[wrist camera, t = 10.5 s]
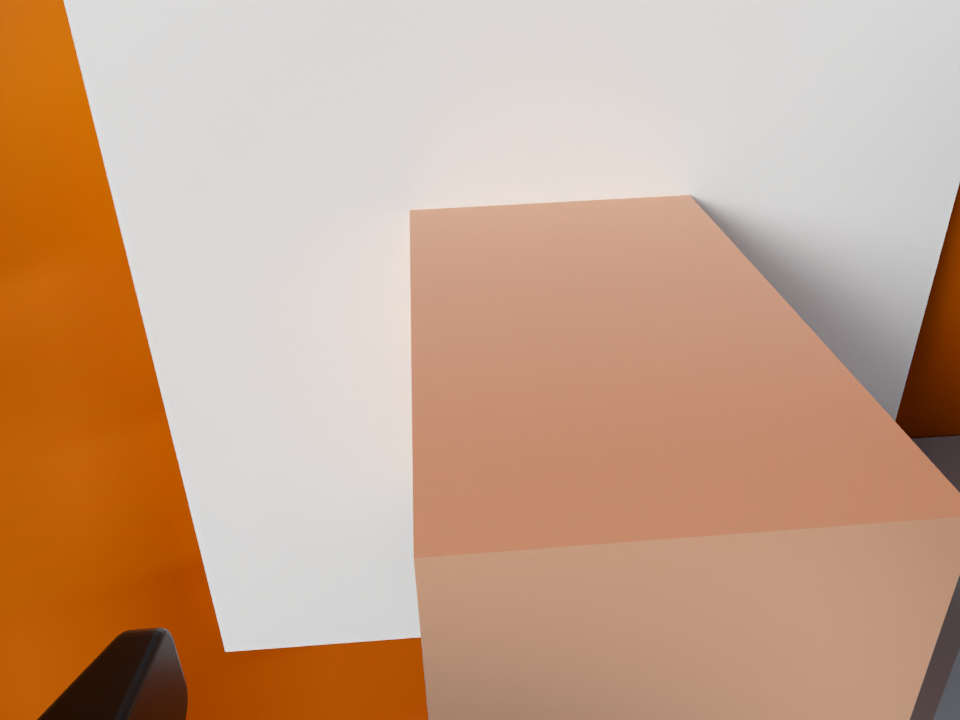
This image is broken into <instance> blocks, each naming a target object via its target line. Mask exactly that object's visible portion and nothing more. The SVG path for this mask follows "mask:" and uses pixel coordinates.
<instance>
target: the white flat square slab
mask: <svg viewBox="0 0 960 720" xmlns="http://www.w3.org/2000/svg"><path fill="white" fill-rule="evenodd" d="M64 4H65V8H66V12H67V16H68V20H69V24H70V28H71V32H72V36H73V40H74V44H75V48H76V52H77V56H78V60H79V64H80V68H81V72H82V77H83V81H84V85H85V89H86V93H87V97H88V101H89V105H90V109H91V113H92V117H93V121H94V125H95V129H96V133H97V137H98V141H99V145H100V149H101V153H102V157H103V161H104V165H105V169H106V173H107V177H108V181H109V185H110V189H111V193H112V197H113V201H114V205H115V209H116V213H117V218H118V222H119V226H120V230H121V234H122V238H123V242H124V246H125V250H126V254H127V258H128V262H129V266H130V270H131V274H132V278H133V282H134V286H135V290H136V294H137V298H138V302H139V306H140V310H141V314H142V318H143V322H144V326H145V330H146V334H147V338H148V342H149V346H150V350H151V354H152V358H153V363H154V367H155V371H156V375H157V379H158V383H159V387H160V391H161V395H162V399H163V403H164V407H165V411H166V415H167V419H168V423H169V427H170V431H171V435H172V439H173V443H174V447H175V451H176V455H177V459H178V463H179V467H180V471H181V475H182V479H183V483H184V487H185V491H186V495H187V499H188V504H189V508H190V512H191V516H192V520H193V524H194V528H195V532H196V536H197V540H198V544H199V548H200V552H201V556H202V560H203V564H204V568H205V572H206V576H207V580H208V584H209V588H210V592H211V596H212V600H213V604H214V608H215V612H216V616H217V620H218V624H219V628H220V632H221V636H222V640H223V644H224V649H225V652H232V651H245V650H258V649H272V648H285V647H298V646H311V645H325V644H338V643H351V642H365V641H378V640H391V639H404V638H418V637H421V632H420V622H419V611H418V600H417V589H416V578H415V567H414V541H413V455H412V370H411V285H410V210H423V209H441V208H460V207H478V206H497V205H515V204H533V203H552V202H570V201H589V200H607V199H626V198H644V197H662V196H681V195H690V196H691V197H692V198H693V199H694V200H695V201H696V203H697V204H698V205H699V206H700V207H701V208H702V209H703V210H704V211H705V212H706V214H707V215H708V216H709V217H710V218H711V219H712V220H713V221H714V222H715V224H716V225H717V226H718V227H719V228H720V229H721V230H722V231H723V232H724V233H725V235H726V236H727V237H728V238H729V239H730V240H731V241H732V242H733V243H734V244H735V246H736V247H737V248H738V249H739V250H740V251H741V252H742V253H743V254H744V255H745V257H746V258H747V259H748V260H749V261H750V262H751V263H752V264H753V265H754V267H755V268H756V269H757V270H758V271H759V272H760V273H761V274H762V275H763V276H764V278H765V279H766V280H767V281H768V282H769V283H770V284H771V285H772V286H773V287H774V289H775V290H776V291H777V292H778V293H779V294H780V295H781V296H782V297H783V298H784V300H785V301H786V302H787V303H788V304H789V305H790V306H791V307H792V308H793V310H794V311H795V312H796V313H797V314H798V315H799V316H800V317H801V318H802V319H803V321H804V322H805V323H806V324H807V325H808V326H809V327H810V328H811V329H812V330H813V332H814V333H815V334H816V335H817V336H818V337H819V338H820V339H821V340H822V342H823V343H824V344H825V345H826V346H827V347H828V348H829V349H830V350H831V351H832V353H833V354H834V355H835V356H836V357H837V358H838V359H839V360H840V361H841V362H842V364H843V365H844V366H845V367H846V368H847V369H848V370H849V371H850V372H851V373H852V375H853V376H854V377H855V378H856V379H857V380H858V381H859V382H860V383H861V385H862V386H863V387H864V388H865V389H866V390H867V391H868V392H869V393H870V394H871V396H872V397H873V398H874V399H875V400H876V401H877V402H878V403H879V404H880V405H881V407H882V408H883V409H884V410H885V411H886V412H887V413H888V414H889V415H890V416H891V418H892V419H893V420H894V421H895V420H896V417H897V413H898V409H899V405H900V402H901V398H902V394H903V391H904V387H905V383H906V380H907V376H908V372H909V368H910V365H911V361H912V357H913V354H914V350H915V346H916V342H917V339H918V335H919V331H920V328H921V324H922V320H923V316H924V313H925V309H926V305H927V302H928V298H929V294H930V291H931V287H932V283H933V279H934V276H935V272H936V268H937V265H938V261H939V257H940V253H941V250H942V246H943V242H944V239H945V235H946V231H947V228H948V224H949V220H950V216H951V213H952V209H953V205H954V202H955V198H956V194H957V190H958V187H959V183H960V0H64Z"/></svg>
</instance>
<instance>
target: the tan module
mask: <svg viewBox="0 0 960 720" xmlns="http://www.w3.org/2000/svg"><path fill="white" fill-rule="evenodd" d="M410 285H411V370H412V455H413V541H414V567H415V578H416V589H417V600H418V611H419V622H420V632H421V643H422V654H423V665H424V676H425V687H426V698H427V709H428V720H910V717H911V715H912V712H913V709H914V706H915V703H916V700H917V697H918V694H919V691H920V688H921V686H922V683H923V680H924V677H925V674H926V671H927V668H928V665H929V662H930V659H931V656H932V654H933V651H934V648H935V645H936V642H937V639H938V636H939V633H940V630H941V627H942V625H943V622H944V619H945V616H946V613H947V610H948V607H949V604H950V601H951V598H952V596H953V593H954V590H955V587H956V584H957V581H958V578H959V575H960V493H959V491H958V490H957V489H956V488H955V487H954V486H953V485H952V484H951V483H950V482H949V480H948V479H947V478H946V477H945V476H944V475H943V474H942V473H941V472H940V471H939V469H938V468H937V467H936V466H935V465H934V464H933V463H932V462H931V461H930V459H929V458H928V457H927V456H926V455H925V454H924V453H923V452H922V451H921V450H920V448H919V447H918V446H917V445H916V444H915V443H914V442H913V441H912V440H911V439H910V437H909V436H908V435H907V434H906V433H905V432H904V431H903V430H902V429H901V428H900V426H899V425H898V424H897V423H896V422H895V421H894V420H893V419H892V418H891V416H890V415H889V414H888V413H887V412H886V411H885V410H884V409H883V408H882V407H881V405H880V404H879V403H878V402H877V401H876V400H875V399H874V398H873V397H872V396H871V394H870V393H869V392H868V391H867V390H866V389H865V388H864V387H863V386H862V385H861V383H860V382H859V381H858V380H857V379H856V378H855V377H854V376H853V375H852V373H851V372H850V371H849V370H848V369H847V368H846V367H845V366H844V365H843V364H842V362H841V361H840V360H839V359H838V358H837V357H836V356H835V355H834V354H833V353H832V351H831V350H830V349H829V348H828V347H827V346H826V345H825V344H824V343H823V342H822V340H821V339H820V338H819V337H818V336H817V335H816V334H815V333H814V332H813V330H812V329H811V328H810V327H809V326H808V325H807V324H806V323H805V322H804V321H803V319H802V318H801V317H800V316H799V315H798V314H797V313H796V312H795V311H794V310H793V308H792V307H791V306H790V305H789V304H788V303H787V302H786V301H785V300H784V298H783V297H782V296H781V295H780V294H779V293H778V292H777V291H776V290H775V289H774V287H773V286H772V285H771V284H770V283H769V282H768V281H767V280H766V279H765V278H764V276H763V275H762V274H761V273H760V272H759V271H758V270H757V269H756V268H755V267H754V265H753V264H752V263H751V262H750V261H749V260H748V259H747V258H746V257H745V255H744V254H743V253H742V252H741V251H740V250H739V249H738V248H737V247H736V246H735V244H734V243H733V242H732V241H731V240H730V239H729V238H728V237H727V236H726V235H725V233H724V232H723V231H722V230H721V229H720V228H719V227H718V226H717V225H716V224H715V222H714V221H713V220H712V219H711V218H710V217H709V216H708V215H707V214H706V212H705V211H704V210H703V209H702V208H701V207H700V206H699V205H698V204H697V203H696V201H695V200H694V199H693V198H692V197H691V196H690V195H681V196H662V197H644V198H626V199H607V200H589V201H570V202H552V203H533V204H515V205H497V206H478V207H460V208H441V209H423V210H410Z"/></svg>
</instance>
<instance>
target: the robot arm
mask: <svg viewBox="0 0 960 720" xmlns="http://www.w3.org/2000/svg"><path fill="white" fill-rule="evenodd" d="M187 703H188V695H187V686H186V682H185V678H184V675H183V671H182V668H181V664H180V661H179V657H178V654H177V651H176V647H175V644H174V640H173V638H172V635H171V633H170V632H169V631H168V630H167V629H164V628H150V629H136V630H128V631H125V632H123V633H121V634H120V635H118V636H117V637H116V638H115V639H114V640H113V641H112V642H111V643H110V644H109V645H108V646H107V647H106V648H105V649H104V650H103V651H102V653H101V654H100V655H99V656H98V657H97V658H96V659H95V660H94V661H93V662H92V663H91V664H90V665H89V666H88V667H87V668H86V669H85V670H84V671H83V672H82V673H81V674H80V675H79V676H78V678H77V679H76V680H75V681H74V682H73V683H72V684H71V685H70V686H69V687H68V688H67V689H66V690H65V691H64V692H63V693H62V694H61V695H60V696H59V697H58V698H57V699H56V700H55V701H54V703H53V704H52V705H51V706H50V707H49V708H48V709H47V710H46V711H45V712H44V713H43V714H42V715H41V716H40V717H39V718H38V719H37V720H186V714H187Z"/></svg>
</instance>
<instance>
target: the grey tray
mask: <svg viewBox="0 0 960 720" xmlns="http://www.w3.org/2000/svg"><path fill="white" fill-rule="evenodd" d="M911 440H912V441H913V442H914V443H915V444H916V445H917V446H918V447H919V448H920V450H921V451H922V452H923V453H924V454H925V455H926V456H927V457H928V458H929V459H930V461H931V462H932V463H933V464H934V465H935V466H936V467H937V468H938V469H939V471H940V472H941V473H942V474H943V475H944V476H945V477H946V478H947V479H948V480H949V482H950V483H951V484H952V485H953V486H954V487H955V488H956V489H957V490H958V491H959V493H960V436H945V437H929V438H913V439H911ZM910 720H960V575H959V578H958V581H957V584H956V587H955V590H954V593H953V596H952V598H951V601H950V604H949V607H948V610H947V613H946V616H945V619H944V622H943V625H942V627H941V630H940V633H939V636H938V639H937V642H936V645H935V648H934V651H933V654H932V656H931V659H930V662H929V665H928V668H927V671H926V674H925V677H924V680H923V683H922V686H921V688H920V691H919V694H918V697H917V700H916V703H915V706H914V709H913V712H912V715H911V717H910Z"/></svg>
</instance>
